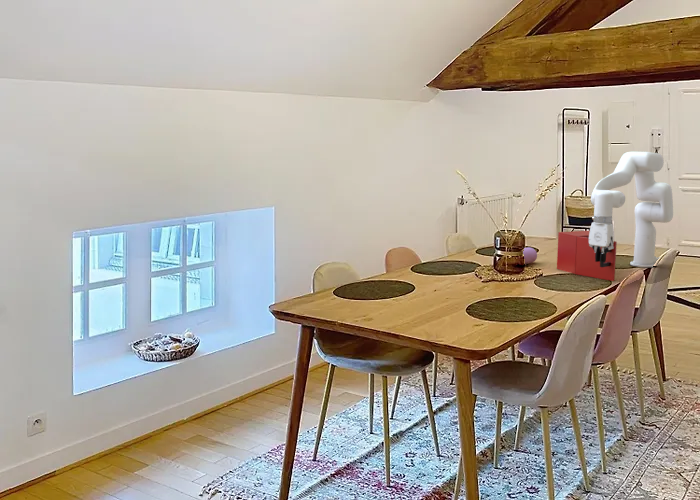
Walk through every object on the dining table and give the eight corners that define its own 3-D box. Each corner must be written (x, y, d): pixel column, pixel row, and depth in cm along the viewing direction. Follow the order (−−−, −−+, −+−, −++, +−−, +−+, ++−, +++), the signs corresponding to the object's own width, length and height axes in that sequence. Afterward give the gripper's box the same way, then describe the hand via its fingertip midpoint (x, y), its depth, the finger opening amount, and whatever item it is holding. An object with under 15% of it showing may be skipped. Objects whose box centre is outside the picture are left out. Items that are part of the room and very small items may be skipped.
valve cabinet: (609, 271, 339) (612, 233, 336) (574, 274, 332) (576, 236, 329) (590, 266, 352) (592, 230, 349) (556, 268, 345) (558, 232, 343)
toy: (524, 262, 366) (506, 266, 351) (525, 246, 366) (507, 248, 350) (539, 264, 362) (521, 267, 346) (540, 247, 361) (523, 250, 345)
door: (604, 282, 312) (606, 243, 309) (566, 275, 328) (568, 237, 325) (614, 280, 316) (616, 241, 313) (576, 273, 332) (578, 236, 329)
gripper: (582, 219, 314) (580, 260, 317) (612, 222, 301) (610, 265, 304) (593, 218, 318) (590, 258, 321) (623, 221, 305) (621, 263, 308)
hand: (600, 261), depth 312 cm, fingers closed on door
